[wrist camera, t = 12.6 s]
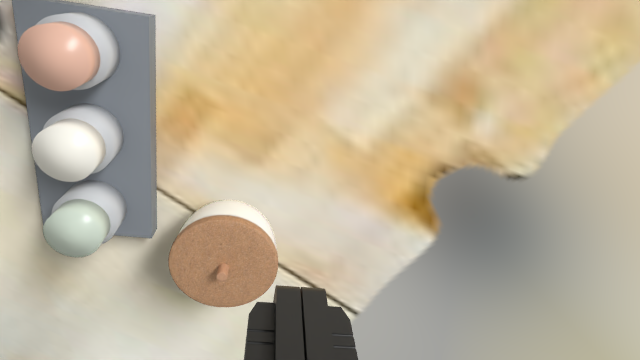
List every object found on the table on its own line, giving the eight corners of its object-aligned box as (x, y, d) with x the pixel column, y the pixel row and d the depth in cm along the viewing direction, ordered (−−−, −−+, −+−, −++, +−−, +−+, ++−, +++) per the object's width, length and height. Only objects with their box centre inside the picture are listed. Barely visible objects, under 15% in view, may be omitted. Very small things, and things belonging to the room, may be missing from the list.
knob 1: (30, 16, 32) (13, 19, 30) (98, 26, 33) (85, 29, 31) (38, 80, 35) (22, 86, 32) (102, 88, 35) (90, 95, 33)
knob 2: (53, 196, 39) (39, 208, 37) (109, 201, 40) (99, 214, 38) (58, 240, 41) (46, 255, 39) (111, 245, 42) (102, 259, 40)
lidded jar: (284, 190, 47) (285, 236, 38) (271, 267, 51) (270, 323, 43) (186, 178, 45) (165, 223, 37) (182, 258, 49) (162, 315, 41)
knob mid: (43, 114, 36) (27, 123, 34) (104, 122, 36) (93, 130, 34) (49, 167, 38) (35, 178, 36) (107, 173, 39) (97, 184, 36)
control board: (24, -6, 36) (-12, -4, 32) (155, 15, 38) (138, 19, 33) (53, 219, 46) (28, 245, 41) (156, 228, 47) (143, 254, 43)
